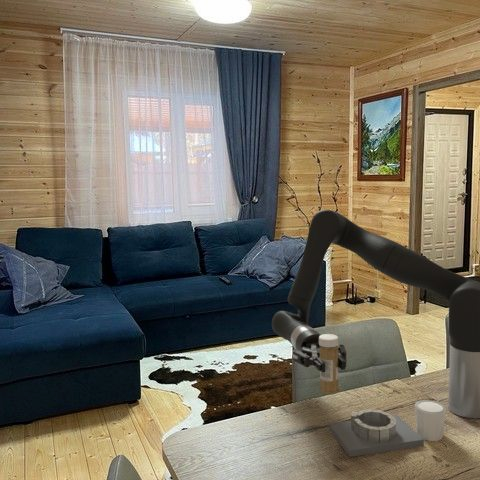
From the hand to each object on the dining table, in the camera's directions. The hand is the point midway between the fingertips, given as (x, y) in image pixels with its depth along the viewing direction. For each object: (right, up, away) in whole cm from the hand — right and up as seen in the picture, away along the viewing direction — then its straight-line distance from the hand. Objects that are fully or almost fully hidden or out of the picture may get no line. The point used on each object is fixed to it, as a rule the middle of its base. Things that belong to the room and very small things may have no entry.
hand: (333, 366), depth 111 cm
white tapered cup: (+23, -17, +3) cm, 29 cm away
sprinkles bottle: (0, -7, +4) cm, 8 cm away
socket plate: (+10, -17, +2) cm, 20 cm away
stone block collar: (+10, -16, +2) cm, 19 cm away
